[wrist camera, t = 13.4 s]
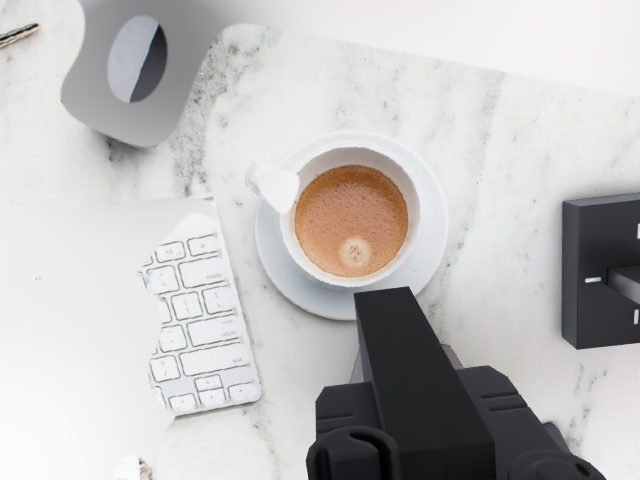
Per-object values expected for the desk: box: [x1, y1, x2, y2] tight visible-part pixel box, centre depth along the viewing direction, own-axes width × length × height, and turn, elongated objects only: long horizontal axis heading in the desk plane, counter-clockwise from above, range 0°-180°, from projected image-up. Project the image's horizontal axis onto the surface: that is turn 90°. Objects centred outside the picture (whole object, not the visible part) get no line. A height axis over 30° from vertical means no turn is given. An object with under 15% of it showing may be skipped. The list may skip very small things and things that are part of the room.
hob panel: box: [562, 193, 640, 350], centre depth 48 cm, size 14×11×3 cm
